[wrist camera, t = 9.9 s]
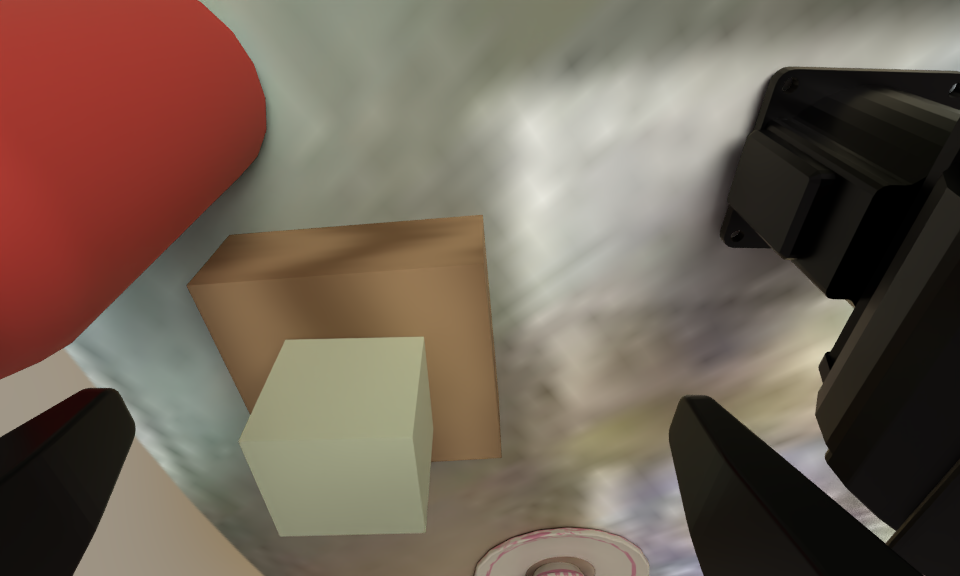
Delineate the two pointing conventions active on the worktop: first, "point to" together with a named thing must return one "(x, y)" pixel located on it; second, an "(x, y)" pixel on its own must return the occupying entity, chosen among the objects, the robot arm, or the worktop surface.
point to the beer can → (108, 152)
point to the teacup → (564, 554)
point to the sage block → (344, 437)
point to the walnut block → (365, 310)
